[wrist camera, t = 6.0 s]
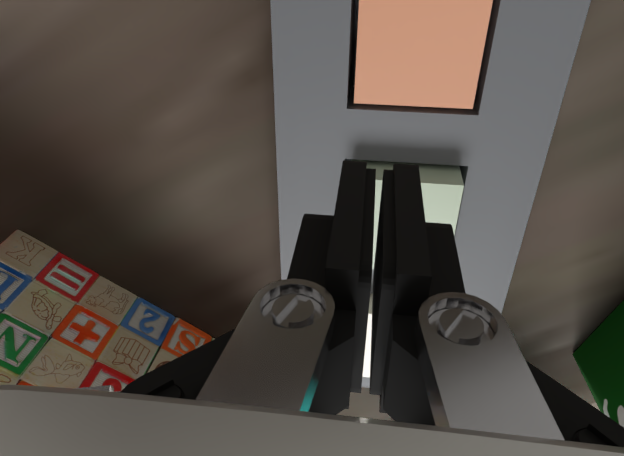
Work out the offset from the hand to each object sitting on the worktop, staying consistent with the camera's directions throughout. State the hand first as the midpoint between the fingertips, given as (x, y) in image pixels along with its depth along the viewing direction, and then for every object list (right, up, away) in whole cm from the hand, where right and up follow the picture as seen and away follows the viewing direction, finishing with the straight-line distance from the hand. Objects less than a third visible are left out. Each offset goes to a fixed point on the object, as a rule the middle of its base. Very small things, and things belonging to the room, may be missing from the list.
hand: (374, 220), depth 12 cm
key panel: (+3, +3, +16) cm, 17 cm away
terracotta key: (+3, +9, +11) cm, 15 cm away
